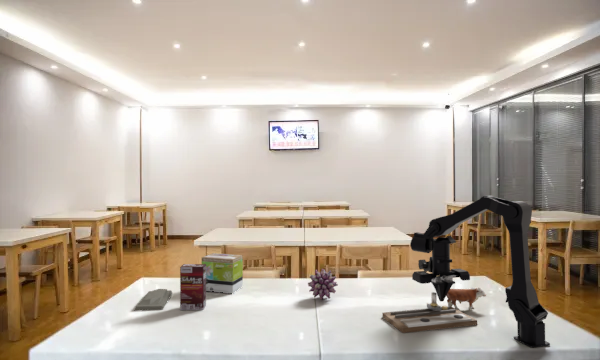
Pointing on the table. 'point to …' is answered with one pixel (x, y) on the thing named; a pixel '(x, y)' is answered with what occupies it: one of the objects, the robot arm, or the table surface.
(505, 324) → the table surface
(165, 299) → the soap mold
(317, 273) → the purple spiky ball
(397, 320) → the brown flat wooden board
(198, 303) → the supplement box
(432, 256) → the robot arm
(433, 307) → the sliding handle
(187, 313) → the table surface
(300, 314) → the table surface
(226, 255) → the tea box
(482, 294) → the bull figurine
